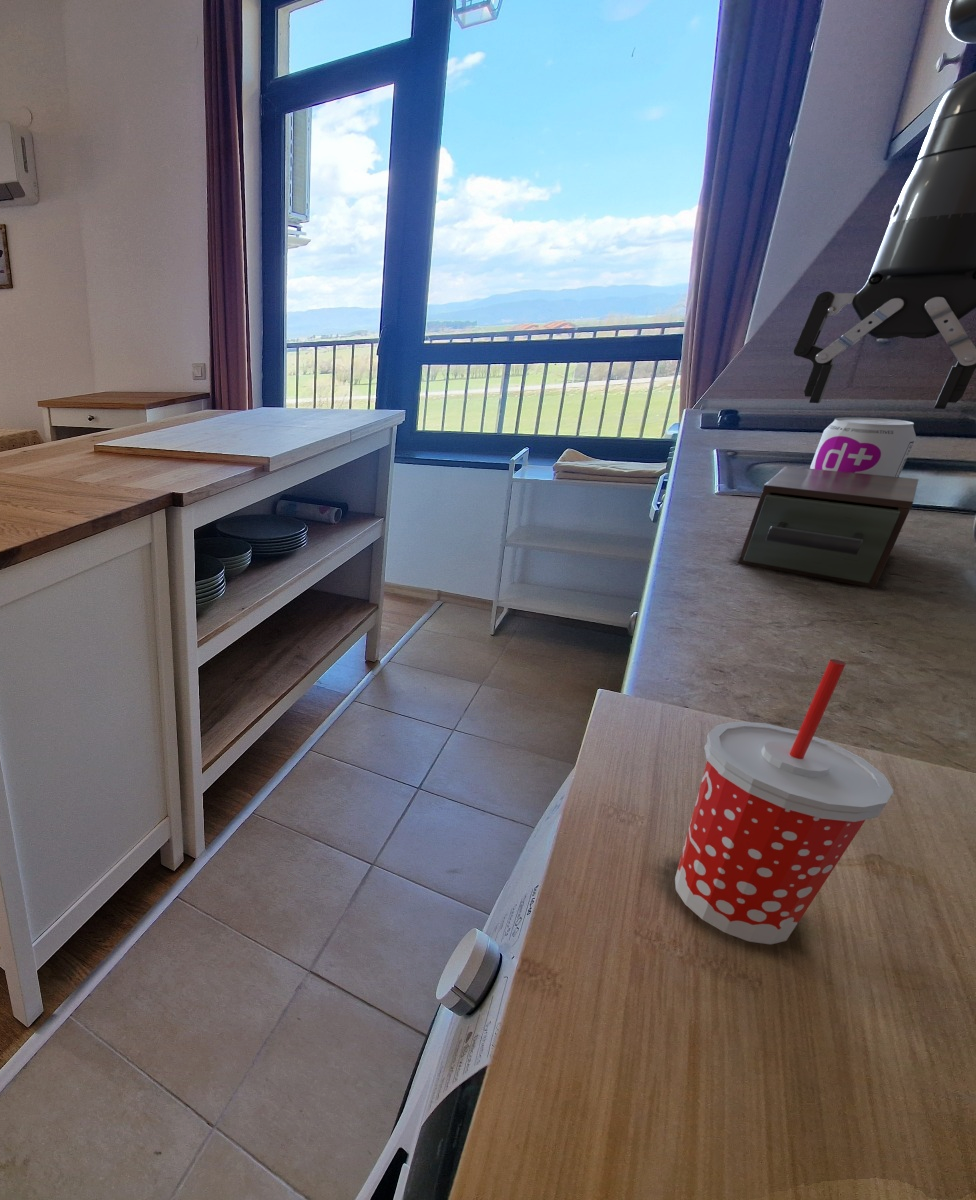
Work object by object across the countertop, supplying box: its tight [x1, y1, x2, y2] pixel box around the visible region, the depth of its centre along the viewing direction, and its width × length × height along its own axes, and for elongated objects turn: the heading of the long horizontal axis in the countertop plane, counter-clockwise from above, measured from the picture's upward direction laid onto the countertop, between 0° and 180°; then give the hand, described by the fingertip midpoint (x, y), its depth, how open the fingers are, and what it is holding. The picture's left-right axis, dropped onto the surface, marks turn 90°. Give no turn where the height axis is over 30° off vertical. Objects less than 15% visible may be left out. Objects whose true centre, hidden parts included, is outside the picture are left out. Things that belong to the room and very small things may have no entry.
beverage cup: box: [674, 658, 895, 945], centre depth 29 cm, size 6×6×14 cm
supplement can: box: [809, 417, 917, 477], centre depth 82 cm, size 8×8×15 cm
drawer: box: [744, 494, 900, 583], centre depth 71 cm, size 19×10×8 cm, turn 131°
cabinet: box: [737, 465, 919, 589], centre depth 74 cm, size 15×12×10 cm
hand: (873, 405), depth 62 cm, fingers open, 8 cm apart
